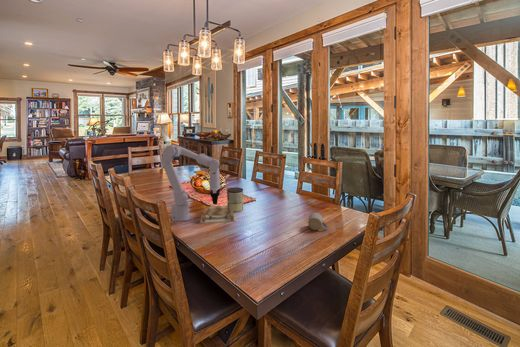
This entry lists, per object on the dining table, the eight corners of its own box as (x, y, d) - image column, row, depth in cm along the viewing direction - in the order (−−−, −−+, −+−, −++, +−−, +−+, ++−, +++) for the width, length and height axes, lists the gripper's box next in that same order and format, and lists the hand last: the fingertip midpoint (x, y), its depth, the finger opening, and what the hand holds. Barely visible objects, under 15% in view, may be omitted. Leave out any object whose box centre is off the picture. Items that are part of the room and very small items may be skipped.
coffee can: (224, 210, 189) (223, 189, 187) (237, 207, 196) (236, 186, 193) (233, 213, 181) (232, 192, 179) (246, 210, 188) (246, 189, 185)
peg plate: (200, 223, 165) (200, 217, 165) (201, 216, 177) (201, 210, 176) (235, 221, 168) (235, 215, 167) (234, 214, 180) (234, 209, 179)
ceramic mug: (307, 230, 154) (308, 216, 153) (308, 225, 162) (308, 211, 160) (328, 232, 152) (329, 218, 151) (327, 226, 160) (328, 213, 158)
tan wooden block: (207, 216, 169) (207, 208, 168) (208, 214, 173) (207, 206, 172) (228, 215, 171) (228, 207, 170) (228, 213, 175) (228, 205, 174)
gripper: (221, 182, 163) (221, 205, 166) (221, 177, 177) (222, 198, 180) (208, 182, 162) (209, 205, 165) (209, 177, 176) (210, 199, 179)
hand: (215, 202), depth 172 cm, fingers open, 7 cm apart
